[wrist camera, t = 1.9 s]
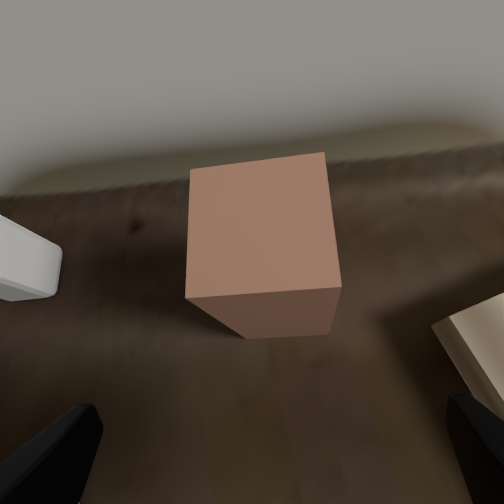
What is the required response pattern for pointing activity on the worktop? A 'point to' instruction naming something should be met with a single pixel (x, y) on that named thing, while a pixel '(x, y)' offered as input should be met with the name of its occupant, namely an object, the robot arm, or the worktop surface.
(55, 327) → the worktop surface
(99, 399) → the worktop surface
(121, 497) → the worktop surface
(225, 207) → the terracotta block
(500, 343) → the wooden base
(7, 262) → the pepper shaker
